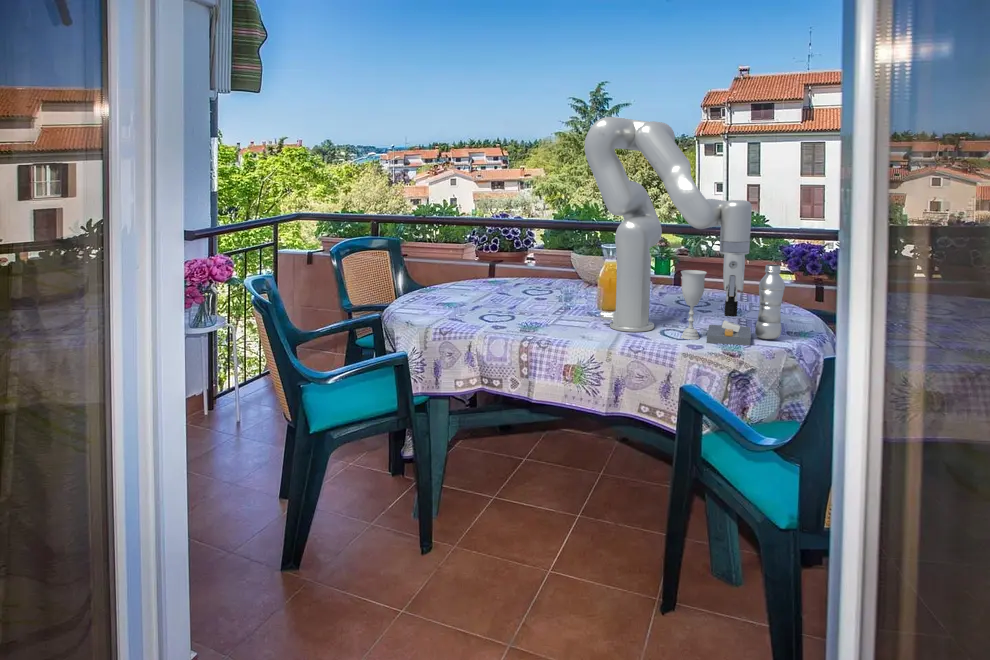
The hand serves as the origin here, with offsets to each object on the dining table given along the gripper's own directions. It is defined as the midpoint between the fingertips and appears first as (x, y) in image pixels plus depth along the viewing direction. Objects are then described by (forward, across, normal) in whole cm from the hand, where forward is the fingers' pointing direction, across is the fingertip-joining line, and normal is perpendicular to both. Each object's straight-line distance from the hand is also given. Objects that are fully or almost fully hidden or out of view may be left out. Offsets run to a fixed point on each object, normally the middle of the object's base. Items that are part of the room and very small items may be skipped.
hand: (730, 315), depth 205 cm
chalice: (+6, -2, +10) cm, 12 cm away
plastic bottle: (+6, +2, -10) cm, 12 cm away
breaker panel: (+6, 0, 0) cm, 6 cm away
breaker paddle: (+4, 0, 0) cm, 4 cm away
